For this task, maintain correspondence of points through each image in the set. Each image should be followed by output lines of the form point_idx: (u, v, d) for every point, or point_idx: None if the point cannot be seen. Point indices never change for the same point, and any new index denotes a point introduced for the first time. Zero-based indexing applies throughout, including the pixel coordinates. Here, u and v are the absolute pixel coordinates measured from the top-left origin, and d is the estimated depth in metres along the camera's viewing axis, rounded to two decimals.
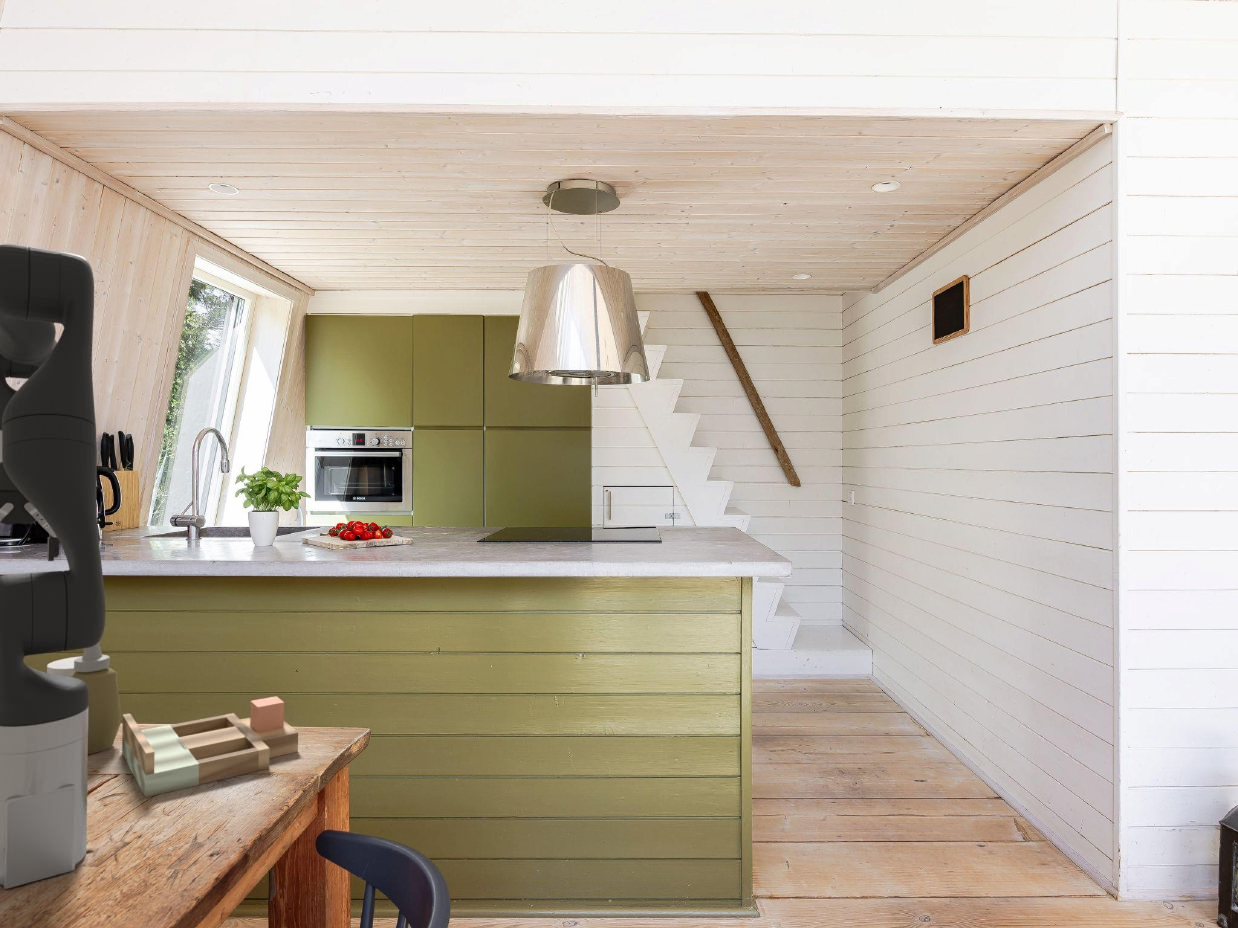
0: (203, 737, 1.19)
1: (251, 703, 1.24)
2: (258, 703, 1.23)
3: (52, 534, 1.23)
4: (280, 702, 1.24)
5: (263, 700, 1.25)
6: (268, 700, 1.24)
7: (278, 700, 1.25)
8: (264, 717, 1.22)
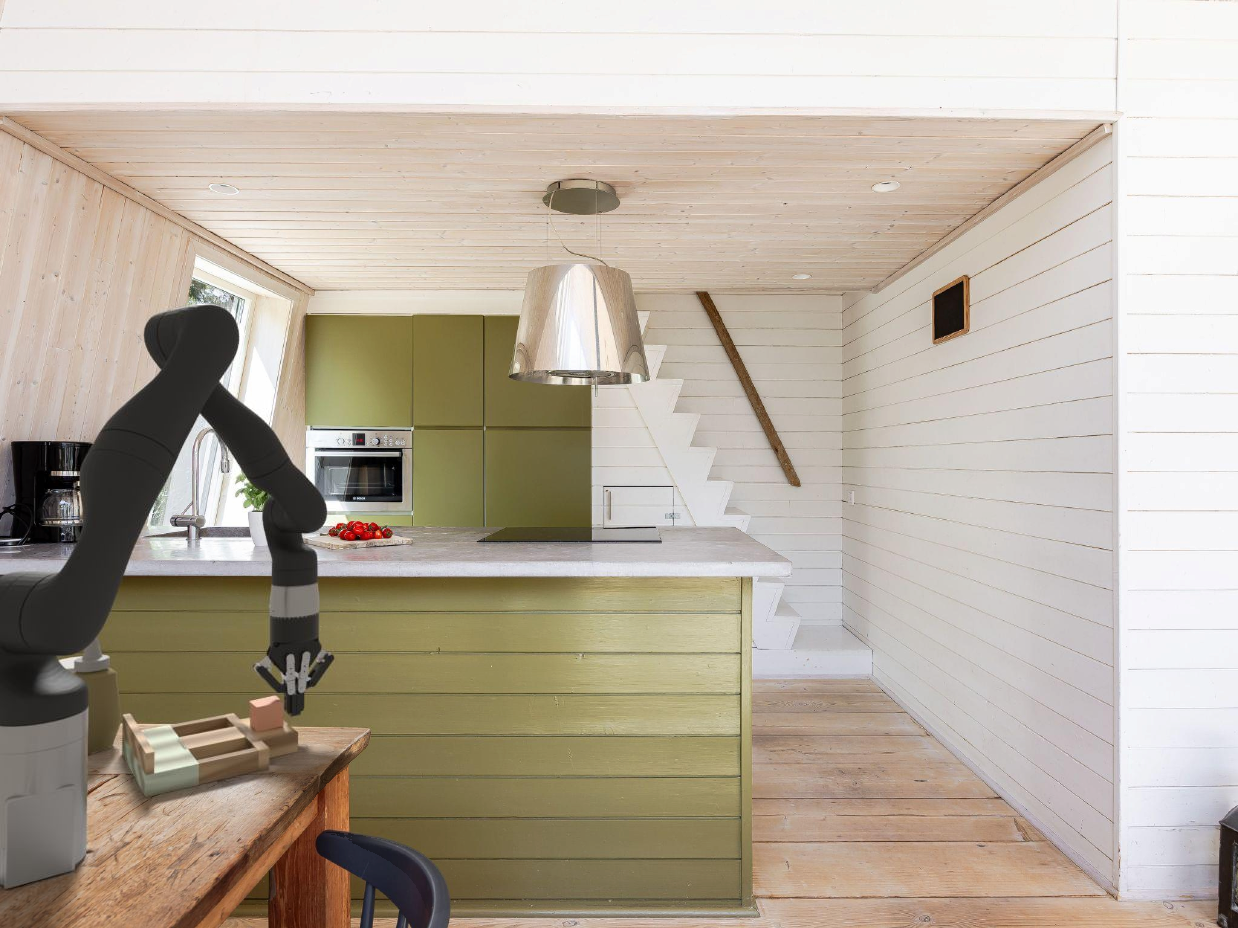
0: (203, 737, 1.19)
1: (250, 703, 1.24)
2: (257, 703, 1.23)
3: (299, 689, 1.26)
4: (279, 701, 1.24)
5: (262, 700, 1.24)
6: (267, 700, 1.24)
7: (277, 699, 1.25)
8: (263, 717, 1.22)
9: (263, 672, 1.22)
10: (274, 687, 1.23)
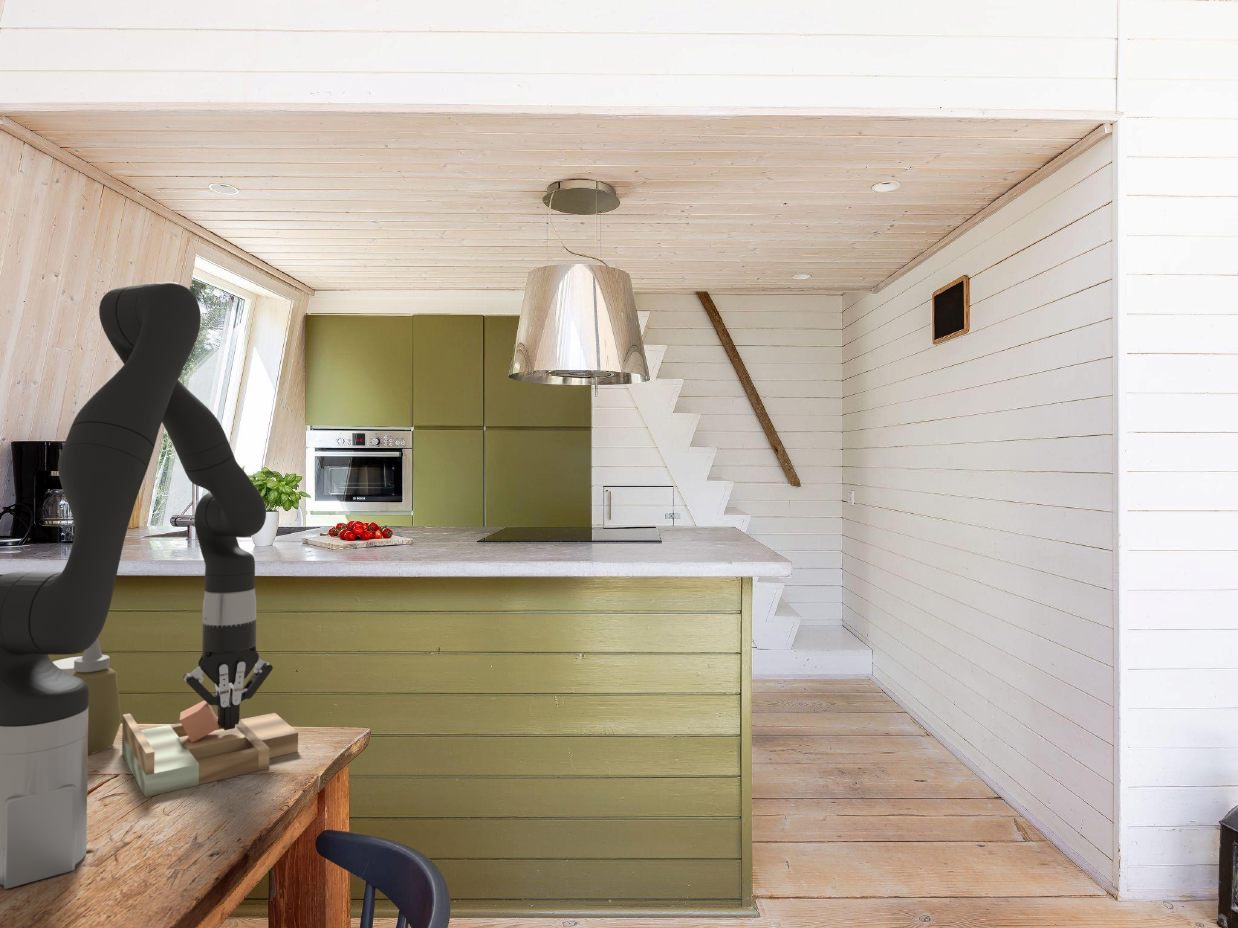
0: (203, 737, 1.19)
1: None
2: (183, 715, 1.17)
3: (233, 701, 1.20)
4: (204, 707, 1.17)
5: (191, 708, 1.19)
6: (195, 707, 1.19)
7: (204, 704, 1.18)
8: (192, 727, 1.16)
9: (193, 683, 1.16)
10: (206, 699, 1.17)
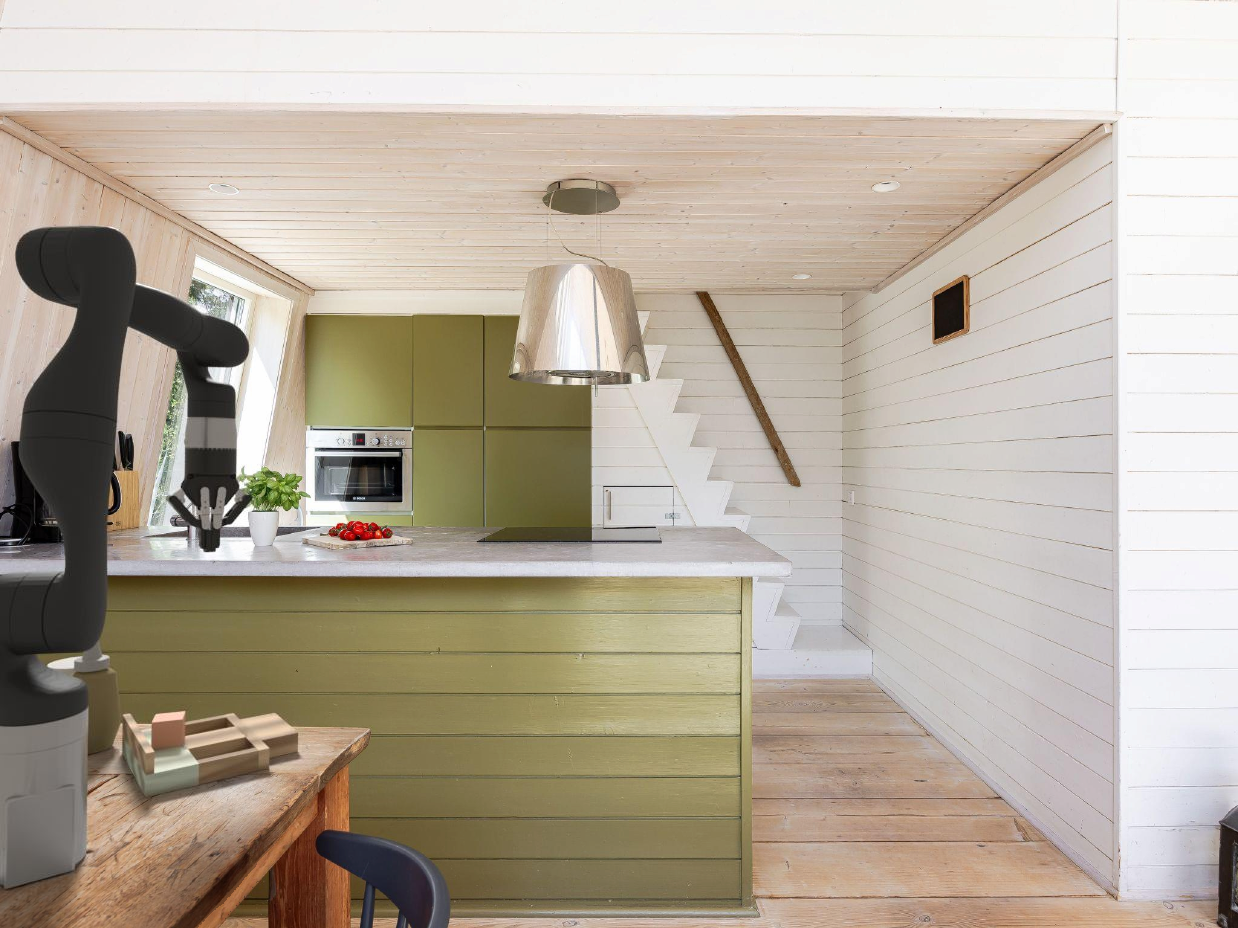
0: (203, 737, 1.19)
1: (155, 717, 1.17)
2: (157, 718, 1.15)
3: (214, 525, 1.25)
4: (179, 719, 1.15)
5: (167, 715, 1.17)
6: (171, 715, 1.17)
7: (180, 716, 1.16)
8: (159, 734, 1.14)
9: (176, 502, 1.21)
10: (187, 519, 1.22)
